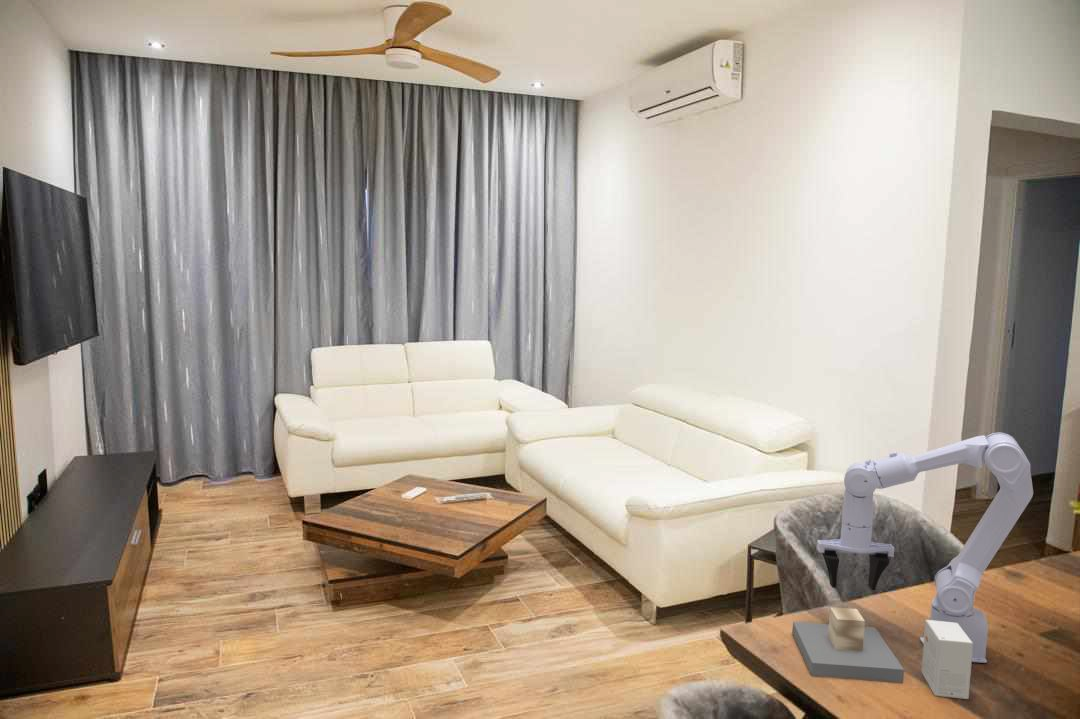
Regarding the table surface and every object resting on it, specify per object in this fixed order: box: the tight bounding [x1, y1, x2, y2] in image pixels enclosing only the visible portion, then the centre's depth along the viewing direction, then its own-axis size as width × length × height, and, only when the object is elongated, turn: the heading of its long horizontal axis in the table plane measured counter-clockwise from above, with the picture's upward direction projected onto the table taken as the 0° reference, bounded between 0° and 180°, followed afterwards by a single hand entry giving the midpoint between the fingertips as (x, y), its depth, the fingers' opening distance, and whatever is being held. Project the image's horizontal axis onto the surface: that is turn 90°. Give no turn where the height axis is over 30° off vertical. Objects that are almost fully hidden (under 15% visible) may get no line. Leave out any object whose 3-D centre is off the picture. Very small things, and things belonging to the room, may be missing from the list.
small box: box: [920, 619, 973, 700], centre depth 134 cm, size 8×6×10 cm
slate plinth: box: [791, 621, 905, 684], centre depth 144 cm, size 16×16×2 cm
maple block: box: [828, 606, 866, 651], centre depth 143 cm, size 5×5×6 cm
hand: (852, 587), depth 153 cm, fingers open, 7 cm apart
